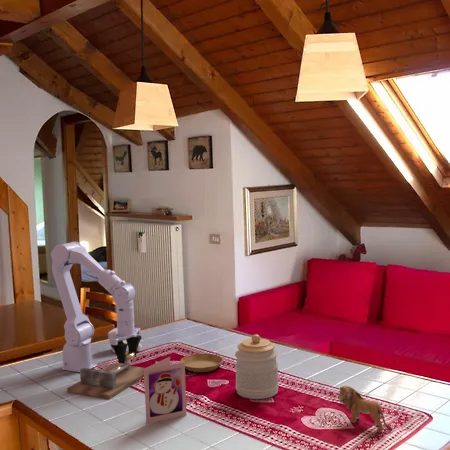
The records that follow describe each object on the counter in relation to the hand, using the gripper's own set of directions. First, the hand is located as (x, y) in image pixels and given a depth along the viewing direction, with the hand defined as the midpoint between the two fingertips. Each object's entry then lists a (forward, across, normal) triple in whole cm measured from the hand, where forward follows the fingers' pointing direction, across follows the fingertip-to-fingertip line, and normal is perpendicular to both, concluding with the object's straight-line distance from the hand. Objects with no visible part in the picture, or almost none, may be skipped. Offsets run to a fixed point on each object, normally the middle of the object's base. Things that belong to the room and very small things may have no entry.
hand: (127, 359), depth 189 cm
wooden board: (+4, -9, 0) cm, 10 cm away
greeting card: (+5, -25, -29) cm, 39 cm away
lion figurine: (+5, -11, -81) cm, 82 cm away
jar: (+5, 0, -47) cm, 47 cm away
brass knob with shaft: (+3, -4, 0) cm, 5 cm away
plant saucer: (+5, +14, -21) cm, 26 cm away
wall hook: (+5, +20, +14) cm, 25 cm away
